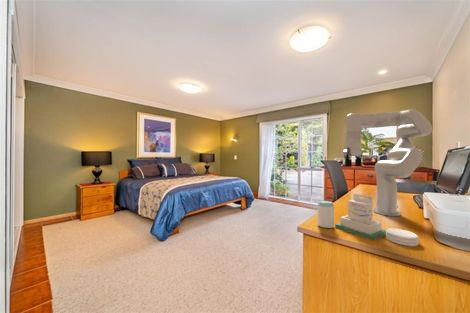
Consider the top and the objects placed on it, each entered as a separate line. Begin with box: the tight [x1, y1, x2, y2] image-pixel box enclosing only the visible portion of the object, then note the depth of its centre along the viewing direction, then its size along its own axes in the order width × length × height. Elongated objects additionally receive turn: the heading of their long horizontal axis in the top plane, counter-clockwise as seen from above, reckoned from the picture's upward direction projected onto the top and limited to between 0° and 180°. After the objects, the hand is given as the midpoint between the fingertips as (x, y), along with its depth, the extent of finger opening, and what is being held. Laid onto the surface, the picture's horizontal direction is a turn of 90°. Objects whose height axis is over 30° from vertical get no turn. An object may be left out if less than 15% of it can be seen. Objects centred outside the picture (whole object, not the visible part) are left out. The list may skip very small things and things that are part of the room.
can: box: [317, 200, 335, 229], centre depth 93 cm, size 7×7×12 cm
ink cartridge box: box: [347, 193, 374, 225], centre depth 88 cm, size 9×5×15 cm, turn 33°
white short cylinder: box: [385, 227, 419, 247], centre depth 78 cm, size 10×10×4 cm
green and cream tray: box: [334, 214, 387, 241], centre depth 88 cm, size 12×16×5 cm
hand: (353, 166), depth 108 cm, fingers open, 9 cm apart
